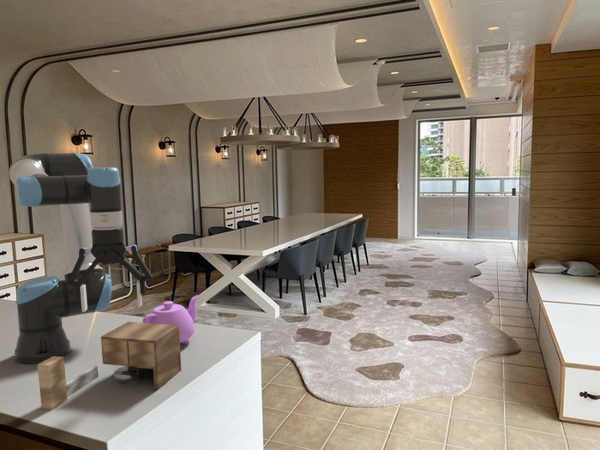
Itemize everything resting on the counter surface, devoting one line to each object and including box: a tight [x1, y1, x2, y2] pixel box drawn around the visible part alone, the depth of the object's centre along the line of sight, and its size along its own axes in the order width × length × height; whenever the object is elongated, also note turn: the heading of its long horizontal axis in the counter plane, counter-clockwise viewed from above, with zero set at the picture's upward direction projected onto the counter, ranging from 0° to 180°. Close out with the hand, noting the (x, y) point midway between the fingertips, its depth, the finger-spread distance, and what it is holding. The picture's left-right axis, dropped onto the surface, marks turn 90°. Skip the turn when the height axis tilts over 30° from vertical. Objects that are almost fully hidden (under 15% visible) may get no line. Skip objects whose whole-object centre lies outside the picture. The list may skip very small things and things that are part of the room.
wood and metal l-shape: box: [37, 356, 99, 411], centre depth 119 cm, size 18×3×11 cm, turn 166°
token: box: [113, 366, 139, 385], centre depth 127 cm, size 6×6×2 cm
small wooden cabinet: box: [100, 321, 182, 391], centre depth 127 cm, size 16×12×13 cm
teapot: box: [141, 294, 199, 345], centre depth 152 cm, size 22×16×14 cm
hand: (112, 308), depth 122 cm, fingers open, 13 cm apart
